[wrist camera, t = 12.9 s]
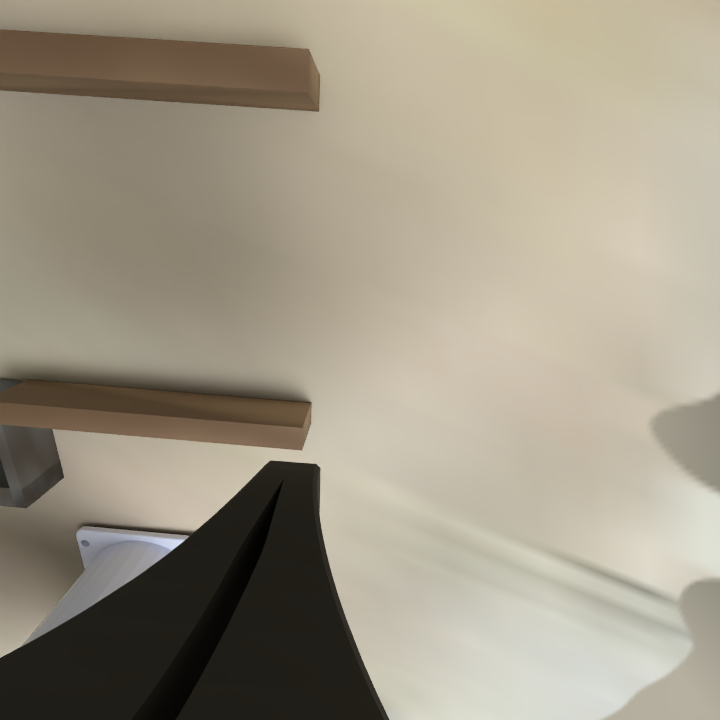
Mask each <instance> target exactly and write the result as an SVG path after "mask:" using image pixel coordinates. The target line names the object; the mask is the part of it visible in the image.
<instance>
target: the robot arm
mask: <svg viewBox="0 0 720 720" xmlns="http://www.w3.org/2000/svg"><path fill="white" fill-rule="evenodd" d="M319 509H320V467H319V466H318V465H317V464H308V463H295V462H282V461H270V462H268V463H267V464H266V465H265V466H264V467H263V468H262V469H261V470H260V471H259V472H258V473H257V474H256V475H255V476H254V477H253V478H252V479H251V480H250V481H249V482H248V483H247V484H246V485H245V486H244V487H243V488H242V489H241V490H240V491H239V492H238V493H237V494H236V495H235V496H234V497H233V498H232V499H231V500H230V501H229V502H228V503H227V504H225V505H224V506H223V507H222V508H221V509H220V510H219V511H218V512H217V513H216V514H215V515H214V516H213V517H211V518H210V519H209V520H208V521H207V522H206V523H204V524H203V525H202V526H201V527H200V528H199V529H197V530H196V531H195V532H194V533H193V534H192V535H190V536H187V535H176V534H165V533H155V532H144V531H133V530H122V529H111V528H100V527H89V526H83V527H81V528H80V529H79V530H78V531H77V533H76V537H77V541H78V545H79V549H80V553H81V557H82V561H83V565H84V569H85V571H84V572H83V573H82V574H81V575H80V577H79V578H78V579H77V580H76V581H75V583H74V584H73V585H72V586H71V587H70V589H69V590H68V591H67V592H66V593H65V595H64V596H63V597H62V598H61V599H60V601H59V602H58V603H57V604H56V605H55V607H54V608H53V609H52V610H51V611H50V613H49V614H48V615H47V616H46V617H45V619H44V620H43V621H42V622H41V623H40V625H39V626H38V627H37V628H36V629H35V631H34V632H33V633H32V634H31V635H30V637H29V638H28V639H27V640H26V641H25V643H24V644H23V645H22V646H21V647H20V648H18V649H16V650H14V651H12V652H11V653H9V654H7V655H5V656H3V657H1V658H0V720H389V718H388V716H387V714H386V712H385V710H384V707H383V705H382V703H381V701H380V699H379V697H378V695H377V693H376V690H375V688H374V686H373V684H372V681H371V679H370V677H369V675H368V672H367V670H366V668H365V665H364V663H363V661H362V658H361V656H360V653H359V651H358V648H357V646H356V643H355V640H354V638H353V635H352V633H351V630H350V628H349V625H348V622H347V620H346V617H345V614H344V611H343V608H342V605H341V602H340V599H339V596H338V593H337V590H336V587H335V583H334V580H333V577H332V573H331V570H330V566H329V562H328V558H327V554H326V549H325V545H324V540H323V535H322V530H321V523H320V516H319Z"/></svg>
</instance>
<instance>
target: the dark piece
mask: <svg viewBox="0 0 720 720" xmlns="http://www.w3.org/2000/svg"><path fill="white" fill-rule="evenodd" d="M319 89H320V75H319V72H318V70H317V68H316V65H315V63H314V61H313V58H312V56H311V54H310V51H309V49H299V48H284V47H268V46H252V45H236V44H220V43H204V42H189V41H173V40H157V39H141V38H125V37H110V36H94V35H78V34H62V33H46V32H30V31H15V30H0V90H5V91H20V92H35V93H50V94H65V95H80V96H95V97H110V98H125V99H140V100H155V101H170V102H185V103H200V104H215V105H230V106H245V107H260V108H275V109H290V110H305V111H319ZM310 425H311V403H304V402H292V401H280V400H268V399H257V398H245V397H233V396H221V395H209V394H197V393H185V392H173V391H161V390H149V389H137V388H125V387H113V386H101V385H89V384H77V383H65V382H53V381H41V380H29V379H28V380H26V381H20V380H8V379H0V506H10V507H21V508H28V507H29V506H30V505H31V504H32V503H34V502H35V501H36V500H37V499H38V498H40V497H41V496H42V495H43V494H44V493H46V492H47V491H48V490H49V489H51V488H52V487H53V486H54V485H55V484H57V483H58V482H59V481H60V480H61V479H63V478H64V477H63V473H62V469H61V465H60V461H59V457H58V453H57V448H56V444H55V440H54V436H53V432H52V429H60V430H72V431H83V432H95V433H107V434H118V435H130V436H141V437H153V438H165V439H176V440H188V441H199V442H211V443H223V444H234V445H246V446H258V447H269V448H281V449H292V450H302V449H303V446H304V443H305V440H306V437H307V434H308V431H309V428H310Z"/></svg>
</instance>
